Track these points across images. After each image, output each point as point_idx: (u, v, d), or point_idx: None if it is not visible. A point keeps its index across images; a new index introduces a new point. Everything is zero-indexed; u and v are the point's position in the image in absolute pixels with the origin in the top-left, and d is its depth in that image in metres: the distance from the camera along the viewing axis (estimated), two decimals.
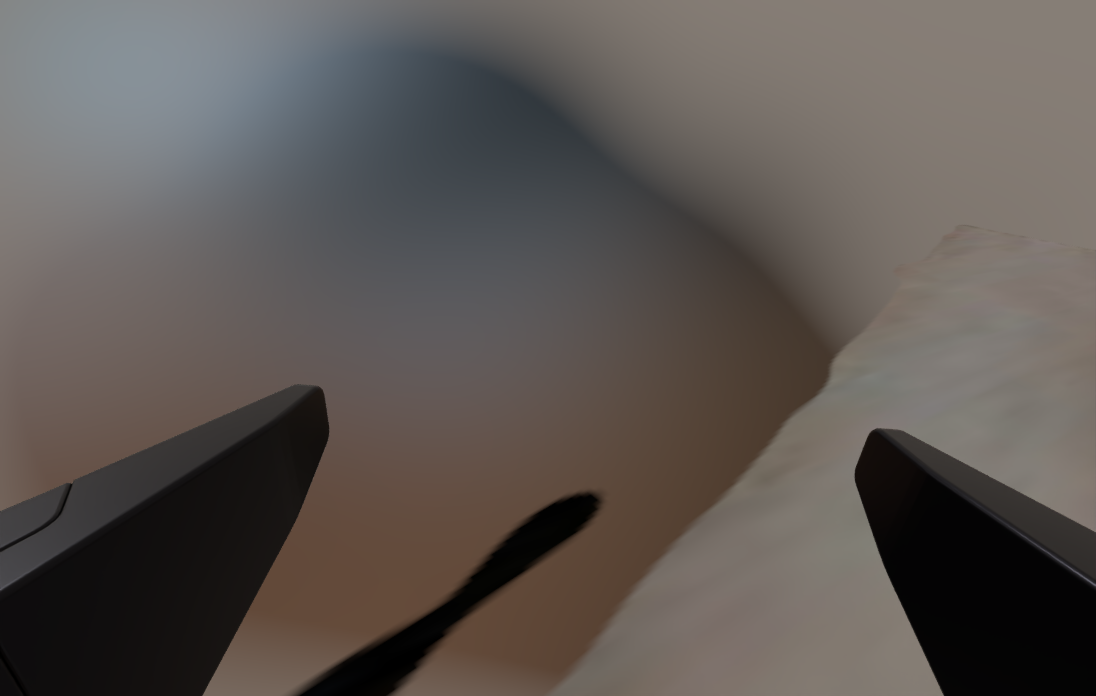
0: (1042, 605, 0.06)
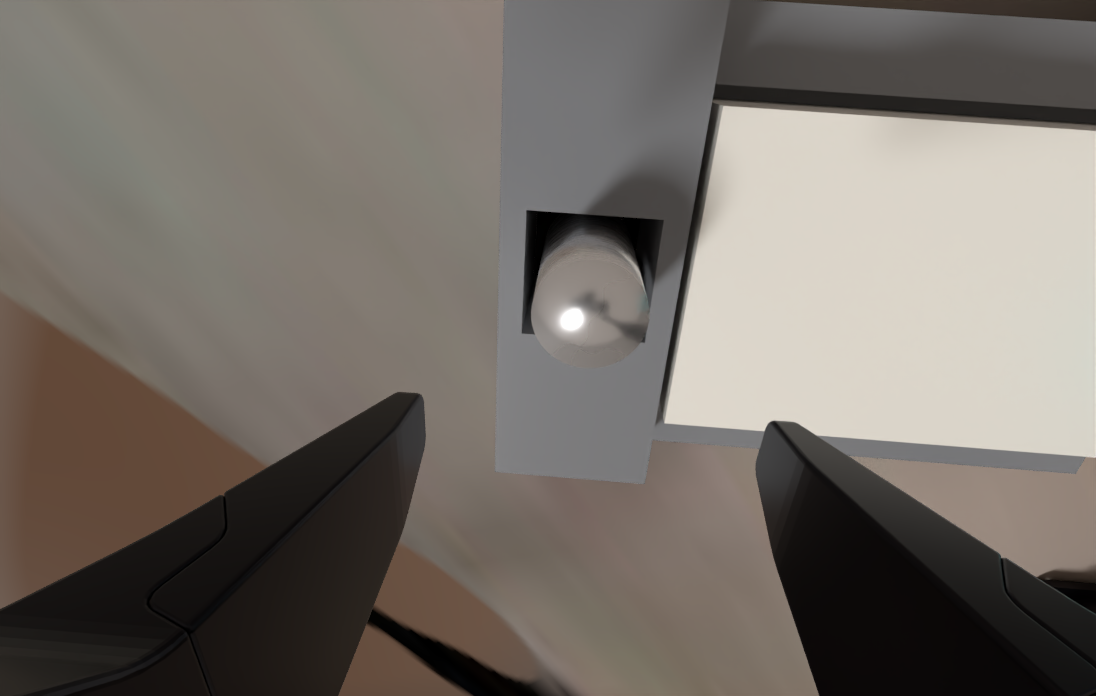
0: (886, 592, 0.06)
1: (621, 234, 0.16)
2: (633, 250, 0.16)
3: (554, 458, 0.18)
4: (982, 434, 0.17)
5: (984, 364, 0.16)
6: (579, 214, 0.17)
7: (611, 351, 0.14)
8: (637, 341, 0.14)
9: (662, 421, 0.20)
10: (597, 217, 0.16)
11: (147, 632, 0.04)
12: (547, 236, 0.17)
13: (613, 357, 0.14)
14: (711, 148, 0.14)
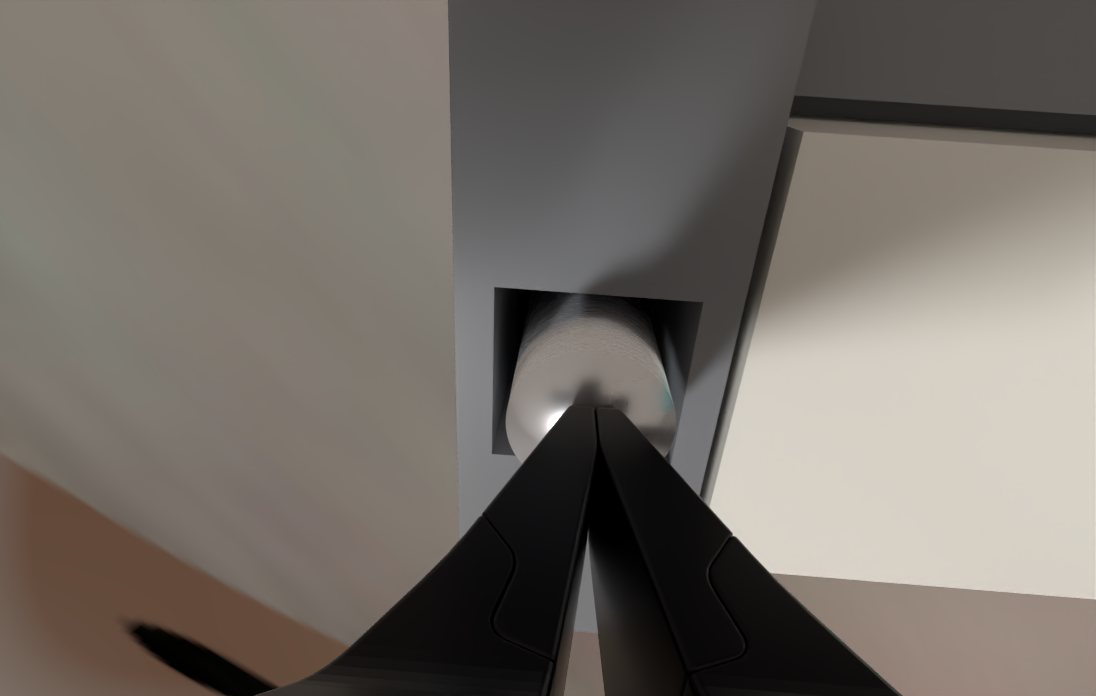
0: (627, 571, 0.06)
1: None
2: (648, 315, 0.12)
3: None
4: None
5: None
6: None
7: None
8: None
9: None
10: None
11: (520, 665, 0.04)
12: None
13: None
14: (777, 194, 0.09)
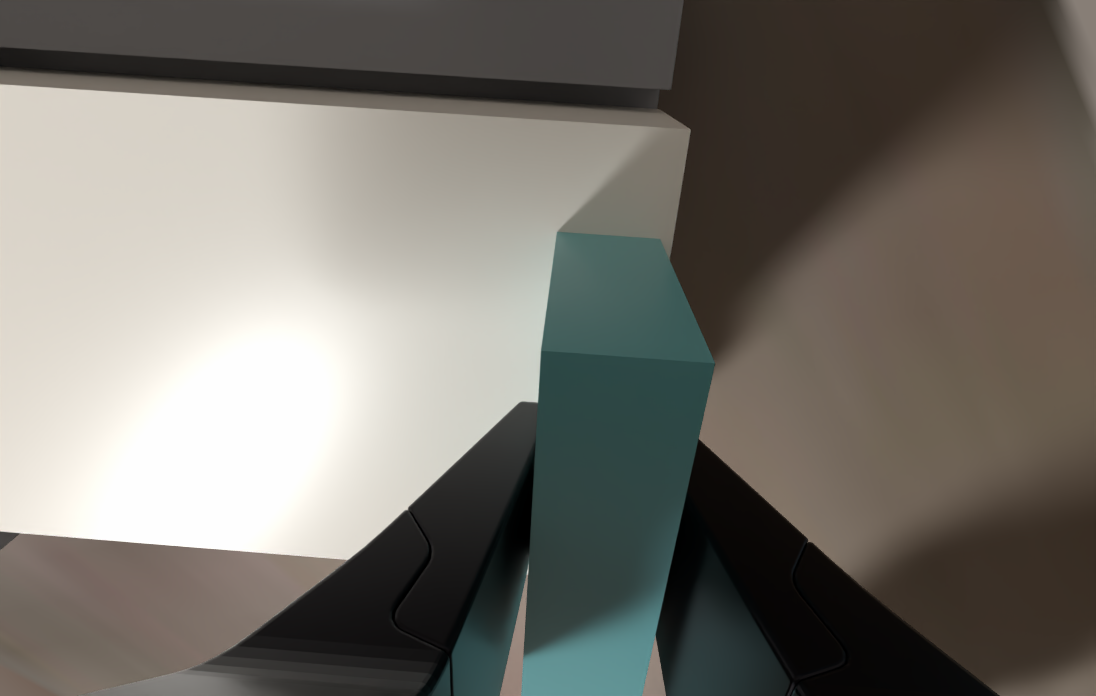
0: (700, 577, 0.06)
1: None
2: None
3: None
4: (338, 542, 0.12)
5: (278, 449, 0.11)
6: None
7: None
8: None
9: None
10: None
11: (411, 655, 0.04)
12: None
13: None
14: None
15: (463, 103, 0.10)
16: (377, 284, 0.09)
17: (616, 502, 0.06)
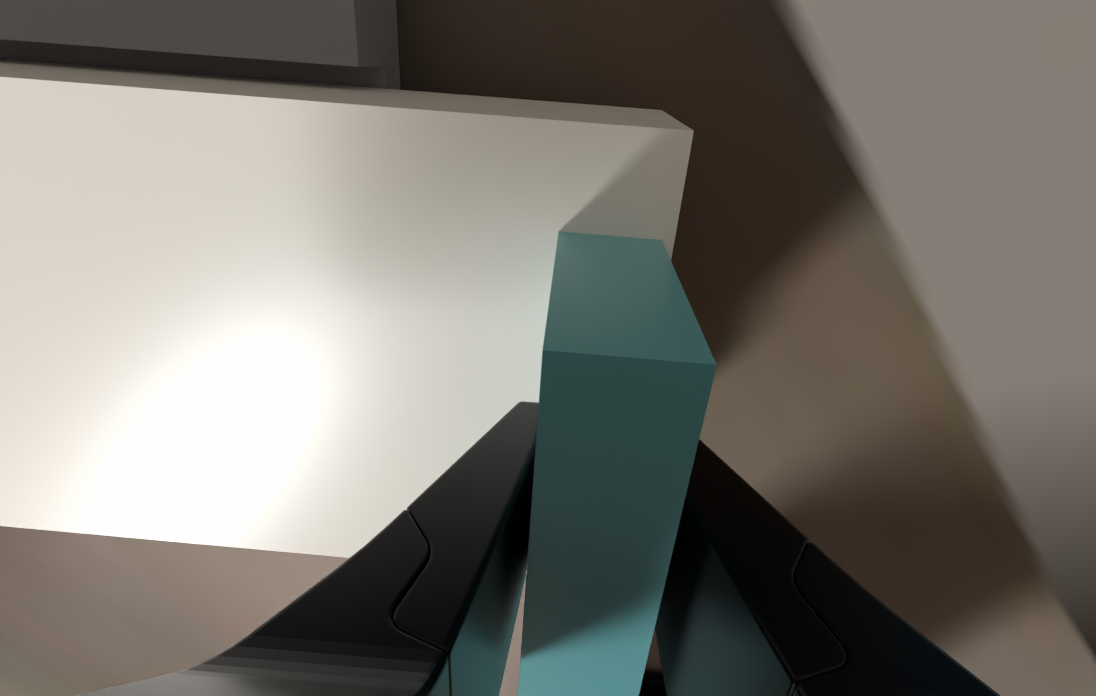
0: (700, 577, 0.06)
1: None
2: None
3: None
4: (336, 539, 0.12)
5: (277, 446, 0.11)
6: None
7: None
8: None
9: None
10: None
11: (410, 655, 0.04)
12: None
13: None
14: None
15: (466, 101, 0.10)
16: (378, 281, 0.09)
17: (615, 502, 0.06)
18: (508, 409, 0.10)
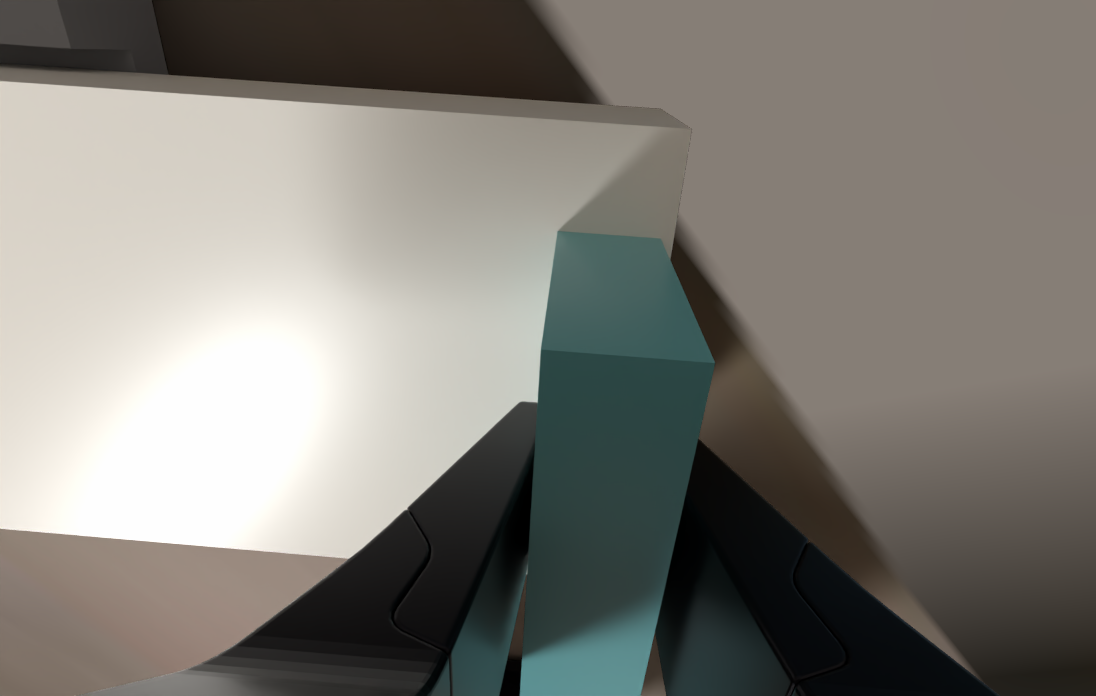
0: (700, 577, 0.06)
1: None
2: None
3: None
4: (338, 540, 0.12)
5: (277, 447, 0.11)
6: None
7: None
8: None
9: None
10: None
11: (411, 654, 0.04)
12: None
13: None
14: None
15: (464, 102, 0.10)
16: (377, 282, 0.09)
17: (615, 502, 0.06)
18: (509, 409, 0.10)
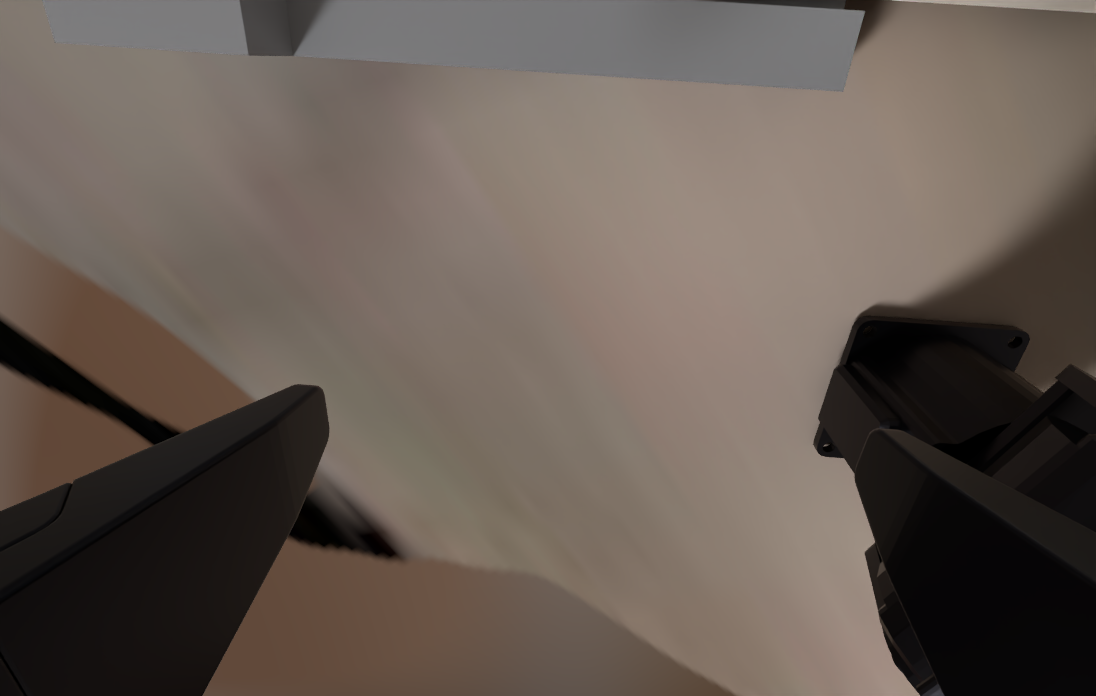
0: (1042, 605, 0.06)
1: None
2: None
3: (121, 12, 0.14)
4: None
5: None
6: None
7: None
8: None
9: (315, 23, 0.16)
10: None
11: None
12: None
13: None
14: None
15: None
16: None
17: None
18: None
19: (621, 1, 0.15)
